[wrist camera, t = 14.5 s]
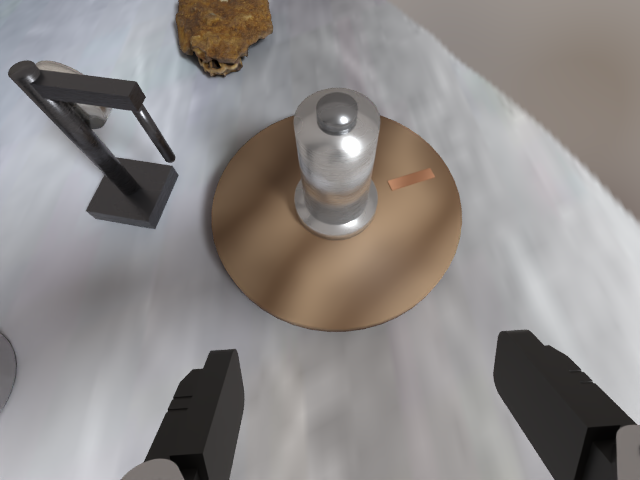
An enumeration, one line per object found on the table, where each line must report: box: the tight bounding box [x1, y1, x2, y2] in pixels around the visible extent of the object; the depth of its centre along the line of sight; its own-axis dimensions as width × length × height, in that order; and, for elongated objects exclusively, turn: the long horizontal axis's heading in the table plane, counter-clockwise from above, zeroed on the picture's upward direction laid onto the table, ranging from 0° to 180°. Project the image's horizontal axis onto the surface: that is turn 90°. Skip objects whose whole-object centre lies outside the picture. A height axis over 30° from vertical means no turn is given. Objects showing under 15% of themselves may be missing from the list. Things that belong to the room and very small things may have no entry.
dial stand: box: [8, 61, 178, 229], centre depth 29 cm, size 10×6×14 cm, turn 79°
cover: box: [294, 88, 380, 241], centre depth 26 cm, size 7×7×11 cm
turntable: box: [212, 116, 462, 332], centre depth 32 cm, size 21×21×2 cm
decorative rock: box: [176, 0, 273, 77], centre depth 43 cm, size 11×4×15 cm
